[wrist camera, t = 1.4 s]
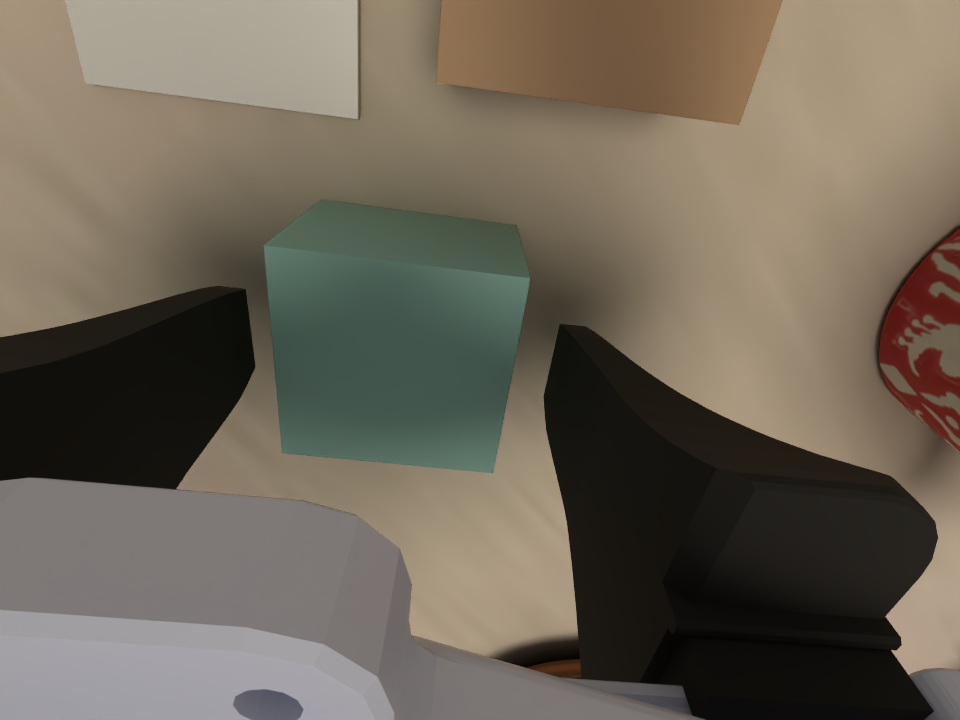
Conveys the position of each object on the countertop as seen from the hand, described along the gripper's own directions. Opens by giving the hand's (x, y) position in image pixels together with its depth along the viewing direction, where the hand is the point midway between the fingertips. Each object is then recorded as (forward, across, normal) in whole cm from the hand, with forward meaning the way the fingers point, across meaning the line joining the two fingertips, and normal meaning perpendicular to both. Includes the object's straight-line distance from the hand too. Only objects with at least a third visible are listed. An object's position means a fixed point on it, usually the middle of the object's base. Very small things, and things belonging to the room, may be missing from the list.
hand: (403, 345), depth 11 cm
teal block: (+3, 0, 0) cm, 3 cm away
